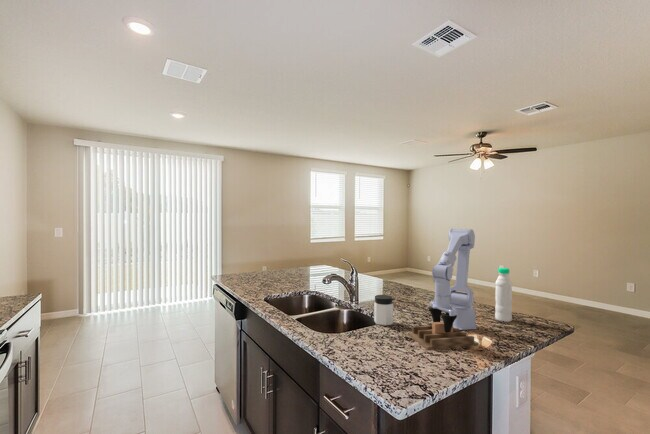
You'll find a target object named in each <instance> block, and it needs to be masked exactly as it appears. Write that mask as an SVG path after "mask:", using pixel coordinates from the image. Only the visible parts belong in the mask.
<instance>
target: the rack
mask: <svg viewBox="0 0 650 434" xmlns="http://www.w3.org/2000/svg"><path fill="white" fill-rule="evenodd" d="M407 336H408V337H410V338H411V339H413V340H414V341H415V342H416V343H418V344H420V346H422V347H423V348H424V349H426V350H435V349H436V350H437V349H449V348H451V349H452V348H462V347H472V346H480V345H479V342H478V341H476V340H475V336H473V335H467V332H466V331H460V330H459V328H453V332H452V333H438V334H432V324H429V325H418V326H417V325H414V326H412V329H411V332H407Z"/></svg>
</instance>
